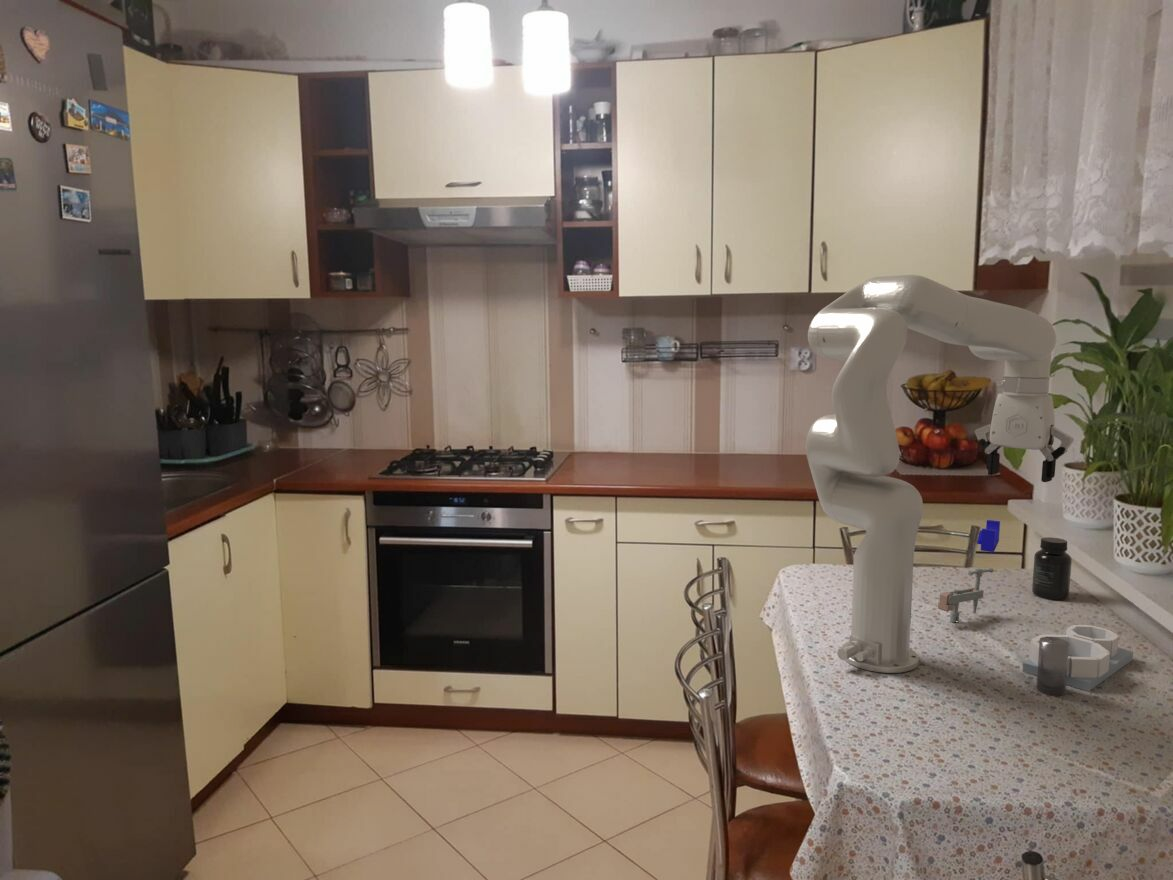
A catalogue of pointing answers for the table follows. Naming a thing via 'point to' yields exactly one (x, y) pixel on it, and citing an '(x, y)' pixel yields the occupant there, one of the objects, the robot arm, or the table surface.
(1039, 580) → the supplement bottle
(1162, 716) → the table surface
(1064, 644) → the grey cylinder
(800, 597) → the table surface
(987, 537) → the blue block
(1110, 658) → the fitting plate
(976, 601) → the clamp
